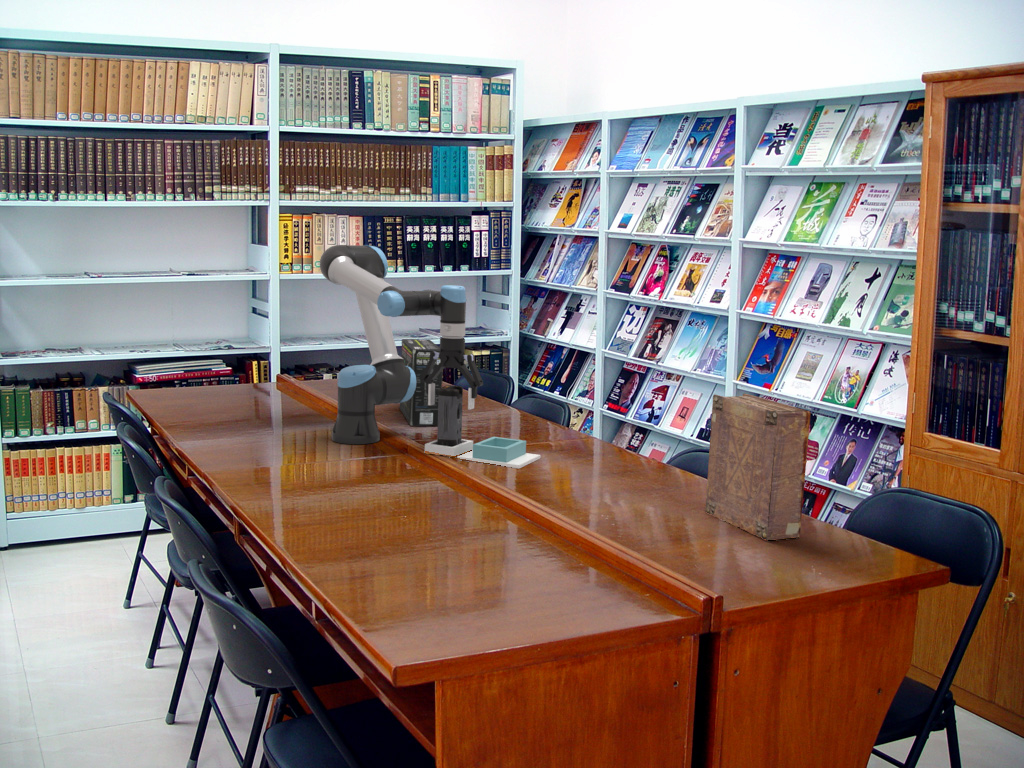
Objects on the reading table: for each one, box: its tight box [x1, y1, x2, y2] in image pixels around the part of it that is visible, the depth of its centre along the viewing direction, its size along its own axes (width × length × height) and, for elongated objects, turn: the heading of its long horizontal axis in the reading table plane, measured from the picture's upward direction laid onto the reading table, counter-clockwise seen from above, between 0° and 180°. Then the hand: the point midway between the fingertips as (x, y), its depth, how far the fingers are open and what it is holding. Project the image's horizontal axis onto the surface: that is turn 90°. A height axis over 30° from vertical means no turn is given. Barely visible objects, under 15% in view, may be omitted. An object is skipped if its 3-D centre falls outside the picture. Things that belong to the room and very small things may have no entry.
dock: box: [456, 436, 541, 470], centre depth 305 cm, size 20×16×5 cm
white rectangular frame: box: [424, 438, 474, 456], centre depth 312 cm, size 10×13×3 cm
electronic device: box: [436, 384, 464, 447], centre depth 311 cm, size 9×6×20 cm, turn 168°
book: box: [704, 393, 812, 540], centre depth 243 cm, size 25×9×30 cm, turn 23°
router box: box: [398, 338, 444, 427], centre depth 366 cm, size 36×11×27 cm, turn 13°
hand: (451, 406), depth 310 cm, fingers open, 13 cm apart
